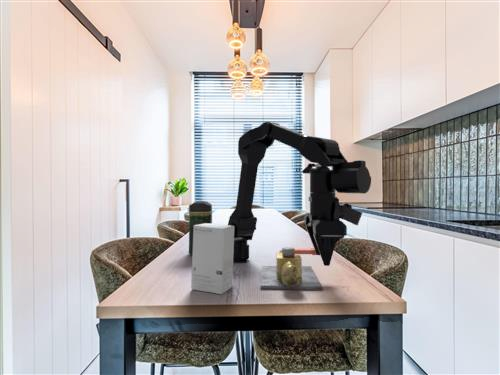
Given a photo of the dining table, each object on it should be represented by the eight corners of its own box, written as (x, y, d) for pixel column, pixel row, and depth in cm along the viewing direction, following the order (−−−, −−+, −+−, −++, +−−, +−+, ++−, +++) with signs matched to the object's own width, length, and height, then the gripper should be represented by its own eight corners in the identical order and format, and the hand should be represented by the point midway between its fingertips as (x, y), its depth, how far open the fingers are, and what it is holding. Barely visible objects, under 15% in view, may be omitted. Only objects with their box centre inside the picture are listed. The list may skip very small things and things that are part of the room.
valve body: (322, 291, 63) (322, 265, 63) (260, 290, 64) (260, 265, 64) (310, 268, 81) (310, 248, 81) (261, 267, 82) (261, 247, 82)
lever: (282, 256, 71) (282, 249, 71) (281, 253, 74) (281, 247, 74) (329, 256, 71) (329, 250, 70) (326, 253, 74) (326, 247, 74)
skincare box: (190, 290, 65) (190, 225, 65) (204, 282, 70) (204, 222, 70) (223, 295, 62) (223, 227, 61) (235, 286, 67) (234, 223, 67)
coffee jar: (210, 256, 96) (210, 201, 96) (186, 256, 96) (186, 201, 95) (213, 249, 105) (213, 200, 105) (192, 250, 105) (192, 200, 105)
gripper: (373, 194, 56) (373, 273, 56) (346, 191, 74) (346, 251, 74) (315, 194, 56) (316, 272, 56) (303, 191, 75) (304, 250, 75)
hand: (322, 259), depth 66 cm, fingers open, 9 cm apart
